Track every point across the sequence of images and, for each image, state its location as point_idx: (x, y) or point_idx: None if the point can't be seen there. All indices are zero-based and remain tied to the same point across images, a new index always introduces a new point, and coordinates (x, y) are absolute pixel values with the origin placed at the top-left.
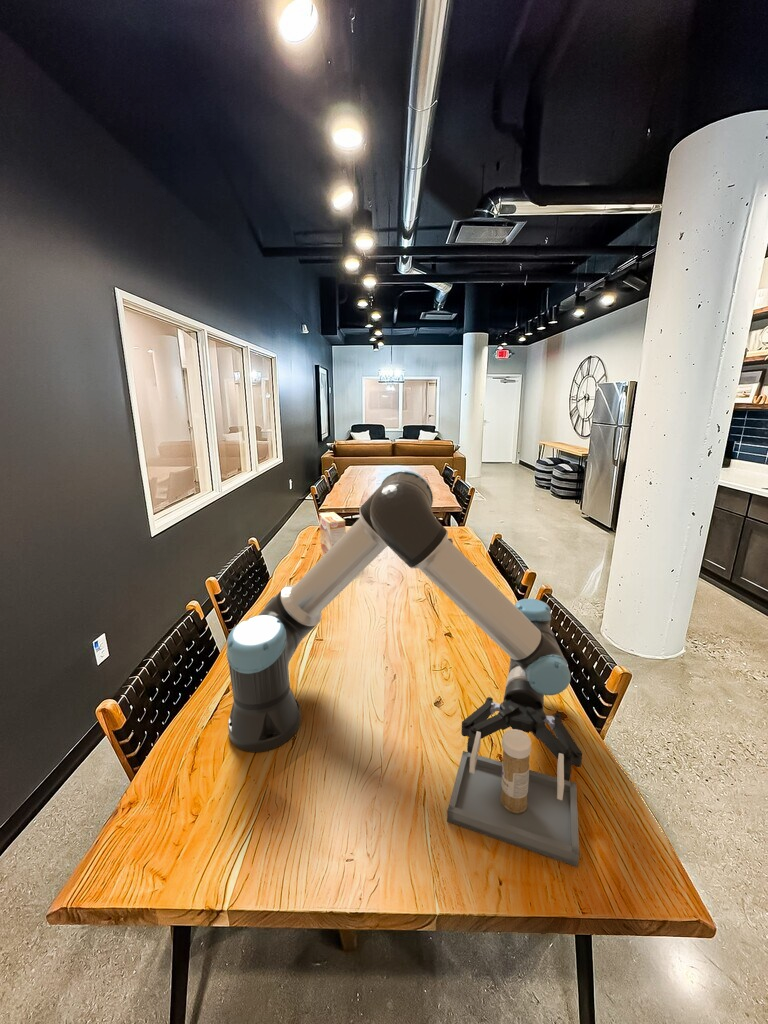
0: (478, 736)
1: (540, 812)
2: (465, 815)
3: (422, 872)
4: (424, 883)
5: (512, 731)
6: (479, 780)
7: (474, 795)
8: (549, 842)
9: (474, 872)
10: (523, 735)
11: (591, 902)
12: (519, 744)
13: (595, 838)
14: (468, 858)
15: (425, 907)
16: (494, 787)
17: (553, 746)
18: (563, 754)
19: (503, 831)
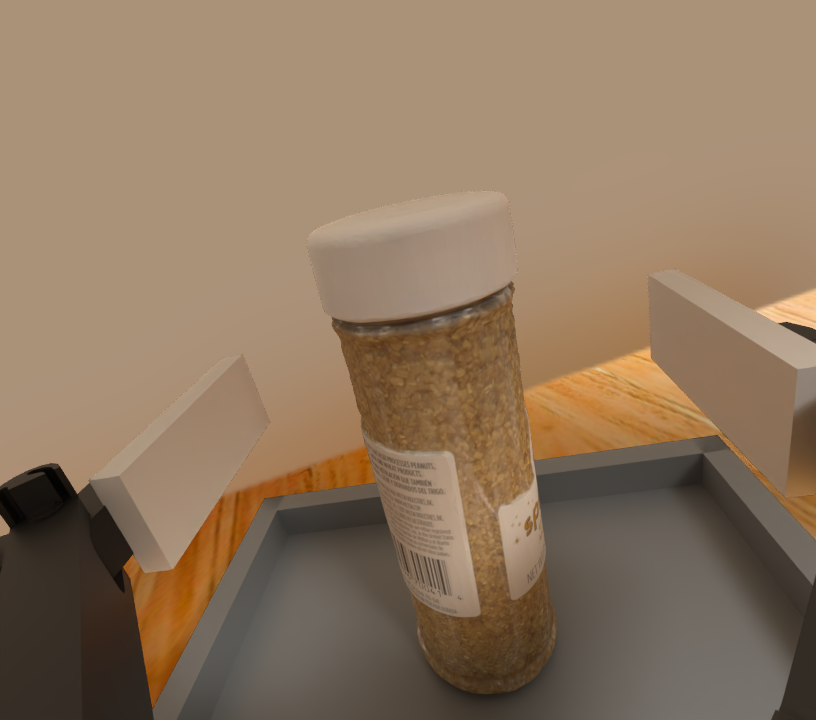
0: (773, 343)
1: (362, 634)
2: (641, 446)
3: (668, 383)
4: (647, 376)
5: (436, 205)
6: (732, 694)
7: (687, 584)
8: (346, 493)
9: (552, 427)
10: (351, 222)
11: (279, 487)
12: (386, 208)
13: (169, 655)
14: (582, 441)
15: (616, 360)
16: (617, 683)
17: (102, 595)
18: (91, 480)
19: None
